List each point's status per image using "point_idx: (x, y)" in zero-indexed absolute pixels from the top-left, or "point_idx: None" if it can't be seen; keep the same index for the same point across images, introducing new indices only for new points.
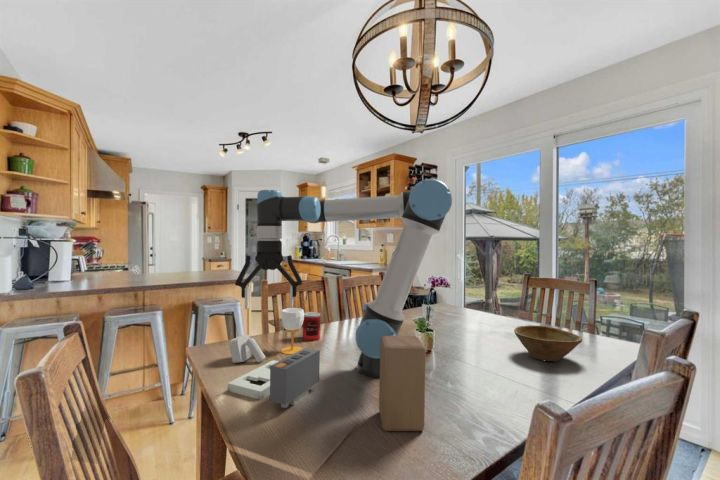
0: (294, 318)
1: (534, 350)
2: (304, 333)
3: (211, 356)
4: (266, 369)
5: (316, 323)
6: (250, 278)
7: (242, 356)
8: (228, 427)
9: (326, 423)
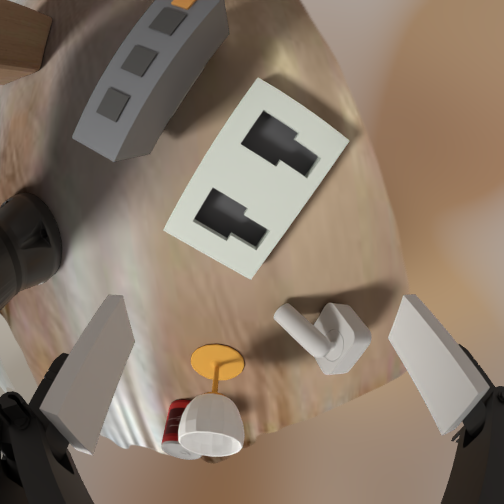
0: (200, 416)
1: None
2: None
3: (385, 338)
4: (261, 215)
5: (169, 428)
6: (493, 467)
7: (330, 313)
8: (303, 9)
9: (123, 17)
